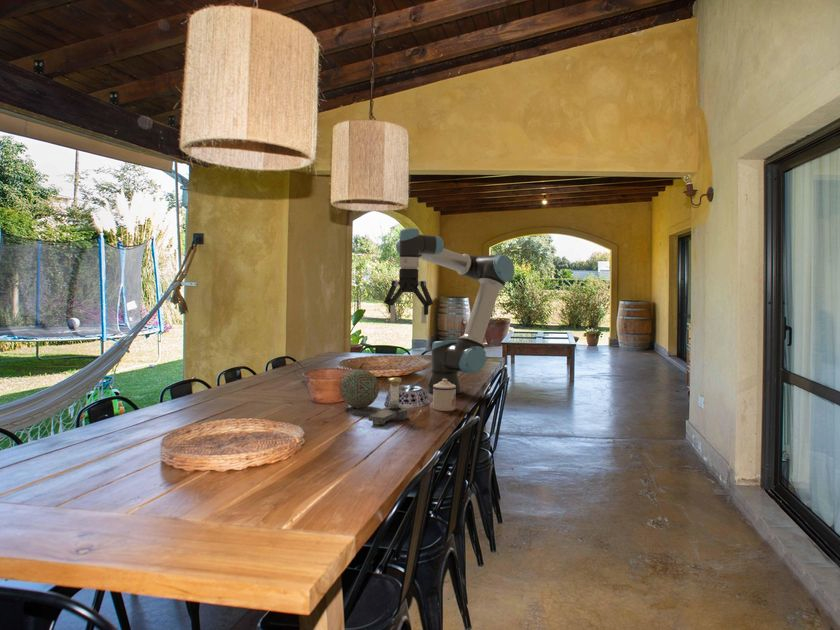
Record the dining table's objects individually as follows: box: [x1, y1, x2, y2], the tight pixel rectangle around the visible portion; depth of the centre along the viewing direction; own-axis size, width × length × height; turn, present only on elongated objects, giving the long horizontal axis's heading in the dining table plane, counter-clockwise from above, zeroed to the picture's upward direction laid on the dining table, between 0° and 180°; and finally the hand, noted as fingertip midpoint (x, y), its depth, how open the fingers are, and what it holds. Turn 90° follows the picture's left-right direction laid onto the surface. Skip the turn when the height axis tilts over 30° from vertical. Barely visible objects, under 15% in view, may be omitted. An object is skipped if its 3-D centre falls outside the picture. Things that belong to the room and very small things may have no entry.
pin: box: [387, 376, 403, 410], centre depth 212 cm, size 5×5×14 cm
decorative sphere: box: [339, 368, 380, 409], centre depth 229 cm, size 15×15×15 cm
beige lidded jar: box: [432, 379, 457, 412], centre depth 230 cm, size 12×9×12 cm
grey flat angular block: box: [351, 406, 408, 427], centre depth 211 cm, size 18×20×3 cm
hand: (408, 322), depth 233 cm, fingers open, 13 cm apart
